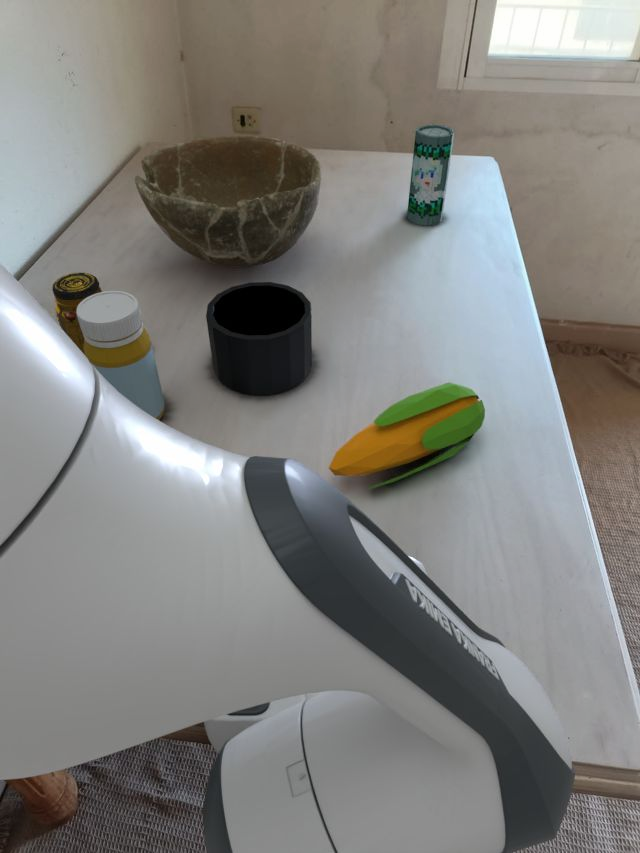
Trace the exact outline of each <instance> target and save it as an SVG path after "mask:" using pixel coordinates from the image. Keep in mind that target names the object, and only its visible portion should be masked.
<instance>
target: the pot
mask: <svg viewBox="0 0 640 853" xmlns="http://www.w3.org/2000/svg"><path fill="white" fill-rule="evenodd" d="M206 307H207V308H206V313H205V320H206V325H207V326H206V327H207V333H208V339H209V340H208V341H209V348H210V354H211V362H212V368H213V370H214V374H215V377H216V378H217V380H218V381H219V383H221V385H223V386H224V387H225V388H227V389H229V390H231V391H233V392H236V393H238V394H241V395H246V396H252V397H253V396H254V397H264V396H265V397H266V396H275V395H280V394H282V393H285V392H289V391H291V390H293V389H294V388H296V387H298V386H299V385H301V384H302V383H304V381H305V380H306V379H307V378H308V376H309V374H310V373H311V369H312V366H313V358H312V356H313V355H312V354H313V350H312V349H313V348H312V346H313V345H312V344H313V342H312V340H313V339H312V338H313V337H312V334H313V333H312V331H313V330H312V323H313V322H312V303H311V301H310V300H309V298H308V297H307V296H306V295H305V294H304V293H303V292H302V291H300V290H298V289H297V288H294V287H292V286H291V285H288V284H283V283H278V282H272V281H255V282H254V281H253V282H247V283H241V284H238V285H233V286H230V287H228V288H226V289H225V290H222V291H220V292H218V293H217V294H216V295H215V296H214V297H213V298H212V299H211V300H210V301H209V302H208V303H207V306H206Z"/></svg>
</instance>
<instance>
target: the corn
mask: <svg viewBox="0 0 640 853" xmlns="http://www.w3.org/2000/svg"><path fill="white" fill-rule="evenodd" d="M479 399H480V397H479V395H478V394H477V393H476V392H475V391H474V390H473V389H472V388H469V387H467V386H464V385H460V384H456V383H452V382H445V383H442V384H440V385H437V386H434V387H432V388H429V389H424V390H422V391H420V392H416V393H414V394H411V395H409V396H406V397H405V398H403V399H401V400H399V401H398V402H395V403H394V404H392V405H390V406H389V407H387V408H386V409H385V410H384V411H383V412H381V413H380V414H378V416H377V417H376V418H375V419H374V421H373V422H372V423H371V424H370V425H368V426H366V427H365V428H363V429H362V430H360V431H358V432H357V433H356V434H354V435H353V437H351V438H350V439H349V440H348V441H347V442H346V443H344V444H343V445H342V446H341V447H340V448H339V449H338V450H336V452H335V454H334V456H333V458H332V460H331V462H330V464H329V466H328V469H329V470H330V472H331V473H332V474H333V475H334V476H343V477H344V476H345V477H352V476H353V477H355V476H356V477H357V476H369V475H372V474H375V473H379V472H383V471H386V470H390V469H393V468H397V467H400V466H404V465H407V464H410V463H412V462H415V461H417V460H420V459H422V458H425V457H427V456H429V455H431V454H434V453H435V452H437V451H438V452H439V451H440V450H442V449H445V448H447V447H450V446H453V445H454V446H453V447H451V448H449V449H448V450H446V451H444V452H442V453H440V454H438V455H437V456H435V457H433V458H431V459H430V460H427V461H425V462H424V463H422V464H420V465H418V466H416V467H415V468H413V469H410V470H409V471H405V472H404V473H402V474H399V475H398V476H396V477H394V478H391V479H389V480H386V481H382V482H380V483H378V484H374V485H373V486H369V488H368V490H372V489H376V488H379V487H382V486H384V485H387V484H391V483H394V482H397V481H399V480H402V479H403V478H406V477H408V476H411V475H413V474H415V473H417V472H420V471H422V470H425V469H427V468H429V467H431V466H433V465H436V464H438V463H440V462H443V461H445V460H447V459H450V458H452V457H454V456H455V455H456V454H458V453H459V452H460V451H461V450H462V449H463V448H464V447H465V446H466V445H467V444H468V443H469V442H470V441H471V440H472V439H473V437H474V435H475V434H476V433H477V432H478V431H479V430H480V429H481V428H482V426H483V424H484V420H485V418H486V408H485V404H484V402H483V399H480V400H479ZM455 444H456V445H455Z"/></svg>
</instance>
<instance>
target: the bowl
mask: <svg viewBox="0 0 640 853" xmlns="http://www.w3.org/2000/svg"><path fill="white" fill-rule="evenodd" d="M140 163H141V168H142V171H143V174H144V176H145V179H144V178H142V177H141V176H139V175H135V177H134V183H135V186H136V191H137V192H138V194H139V196H140V199H141V200H142V202H143V204H144V205H145V208H146V210H147V211H148V213H149V214H150V216H151V218H152V219H153V221H154V222H155V223H156V225H157V226H158V227H159V228H160V230H161V231H162V232H163V233H164V235H165V236H167V238H169V239H170V240H171V242H173V243H174V244H175V245H176V246H178V247H179V248H180V249H181V250H182V251H184V252H186V253H188V254H190V256H192V257H195V258H196V259H199V260H200V261H203V262H208V263H210V264H214V265H218V266H222V267H223V266H224V267H231V268H249V267H254V266H260V265H264V264H267V263H269V262H273V261H274V260H277V259H278V258H280V257H281V256H283V255H284V254H285V253H287V252H288V251H289V250H290V249H292V248H293V246H295V244H296V243H297V242H298V241H299V240H300V239H301V237H302V236H303V235H304V233H305V232H306V230H307V228H308V226H310V223H311V222H312V220H313V218H314V217H315V216H314V215H315V213H316V210H317V207H318V204H319V198H320V191H321V184H322V169H321V167H322V166H321V163H320V160H319V159H318V158H317V156H316V155H315V154H314V153H313V152H310V151H309V150H308V149H306V148H304V147H303V146H301V145H299V144H297V143H294V142H291V141H286V142H285V140H284V139H278V138H275V137H270V136H261V135H218V136H204V137H198V138H194V139H191V140H187V141H181V142H179V143H174V144H171V145H166V146H163V147H160V148H157V149H154V150H152V151H150V153H148V154H146V155H145V156H144V157H143V158H142V159H141V162H140Z"/></svg>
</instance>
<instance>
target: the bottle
mask: <svg viewBox="0 0 640 853" xmlns="http://www.w3.org/2000/svg"><path fill="white" fill-rule="evenodd" d="M76 313H77V317H78V320H79V324H80V327H81V330H82V333H83V336H84V347H83V349H84V353H85V356H86V357H87V358H88V360H89V362H90V363H91V364H92V365H93V366H94V367H95V368H96V369H97V370H98V372H99V373H100V374H101V375H102V376H103V377H104V378H105V379H106V380H107V381H108V382H109V383H110V384H111V385H112V386H113V387H114V388H115V389H116V390H117V391H118V392H119V393H120V394H122V395H123V396H124V397H125V398H127V399H128V400H129V401H131V402H132V403H133V404H135V405H136V406H137V407H139V408H140V409H142V410H143V411H145V412H146V413H148V414H149V415H151V416H152V417H154V418H156V419H157V420H159V421H160V420H161V418H162V417H163V415H164V414H165V412H166V404H165V399H164V394H163V390H162V385H161V380H160V376H159V371H158V367H157V363H156V358H155V353H154V349H153V348H154V347H153V344H152V341H151V336H150V334H149V332H148V331H147V330H146V329H145V327H144V324H143V317H142V314H141V309H140V304H139V301H138V299H137V298H136V296H134V294H131V293H130V292H127V291H122V290H106V291H105V290H104V291H102V292H100V293H96V294H94V295H91V296H89V297H87V298H85V299H84V300H83V301H82V302H80V304H79V305H78V307H77V312H76Z"/></svg>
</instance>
